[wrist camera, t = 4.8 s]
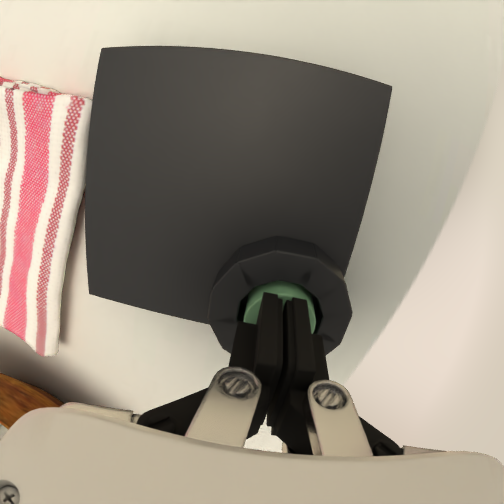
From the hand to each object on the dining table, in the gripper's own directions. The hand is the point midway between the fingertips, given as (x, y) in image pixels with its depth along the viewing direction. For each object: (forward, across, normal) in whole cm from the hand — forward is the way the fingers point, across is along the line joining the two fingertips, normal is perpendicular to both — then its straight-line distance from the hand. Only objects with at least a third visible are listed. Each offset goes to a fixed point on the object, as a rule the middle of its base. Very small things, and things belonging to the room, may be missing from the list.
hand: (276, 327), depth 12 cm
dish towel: (+4, +22, -2) cm, 23 cm away
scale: (+4, +3, -4) cm, 6 cm away
